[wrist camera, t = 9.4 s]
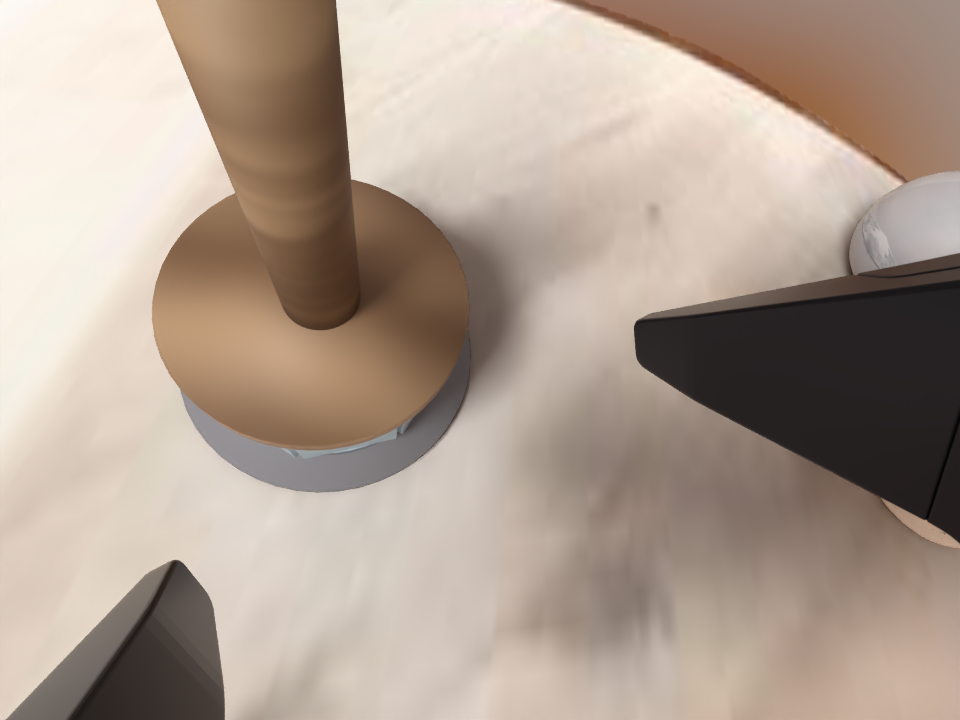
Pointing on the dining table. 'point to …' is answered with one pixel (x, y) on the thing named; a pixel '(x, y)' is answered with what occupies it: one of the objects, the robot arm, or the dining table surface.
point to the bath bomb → (909, 224)
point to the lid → (298, 247)
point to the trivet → (340, 468)
